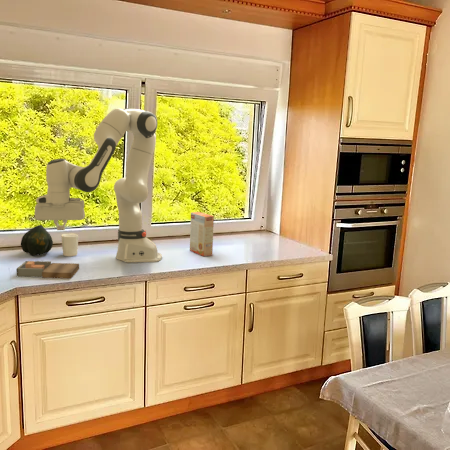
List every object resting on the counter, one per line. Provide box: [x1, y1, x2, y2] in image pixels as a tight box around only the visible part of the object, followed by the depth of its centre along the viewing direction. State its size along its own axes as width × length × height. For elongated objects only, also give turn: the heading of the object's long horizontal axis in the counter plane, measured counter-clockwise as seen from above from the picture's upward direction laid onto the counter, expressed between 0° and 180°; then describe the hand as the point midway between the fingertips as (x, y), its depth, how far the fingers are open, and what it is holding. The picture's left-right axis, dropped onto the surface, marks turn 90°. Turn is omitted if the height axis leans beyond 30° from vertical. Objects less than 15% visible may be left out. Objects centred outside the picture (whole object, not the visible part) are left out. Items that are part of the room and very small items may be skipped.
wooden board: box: [41, 262, 80, 279], centre depth 209 cm, size 12×14×2 cm
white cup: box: [61, 232, 79, 257], centre depth 238 cm, size 8×8×10 cm
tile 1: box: [25, 260, 35, 268], centre depth 207 cm, size 4×4×2 cm
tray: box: [16, 260, 52, 278], centre depth 208 cm, size 11×12×4 cm
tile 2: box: [32, 265, 45, 271], centre depth 208 cm, size 4×4×2 cm
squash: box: [20, 224, 54, 257], centre depth 237 cm, size 14×15×15 cm
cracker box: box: [189, 211, 215, 257], centre depth 250 cm, size 14×6×21 cm, turn 34°
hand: (61, 230), depth 205 cm, fingers closed
